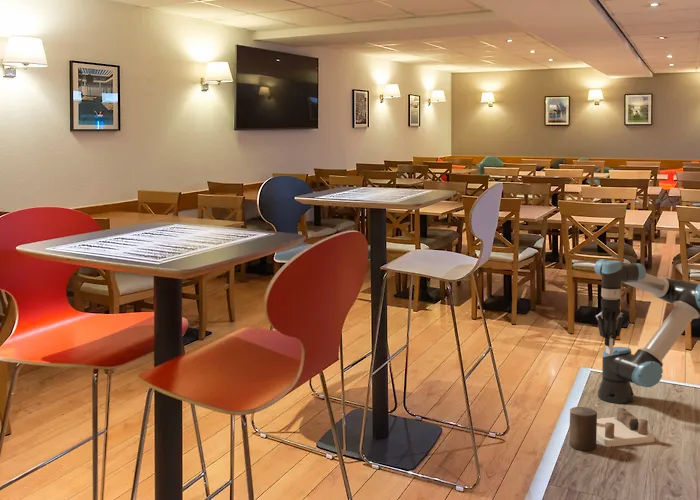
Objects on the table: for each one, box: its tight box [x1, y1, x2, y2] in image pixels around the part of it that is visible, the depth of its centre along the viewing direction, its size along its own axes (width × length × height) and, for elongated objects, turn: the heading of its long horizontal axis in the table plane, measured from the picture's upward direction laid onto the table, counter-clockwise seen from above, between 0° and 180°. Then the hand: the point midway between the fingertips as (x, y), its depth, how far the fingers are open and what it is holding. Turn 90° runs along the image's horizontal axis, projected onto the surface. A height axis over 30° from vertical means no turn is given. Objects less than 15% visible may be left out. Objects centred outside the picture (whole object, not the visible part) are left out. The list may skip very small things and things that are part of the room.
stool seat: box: [596, 416, 656, 448], centre depth 257 cm, size 20×20×8 cm
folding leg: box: [616, 407, 639, 429], centre depth 260 cm, size 13×4×4 cm, turn 3°
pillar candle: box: [568, 406, 598, 452], centre depth 247 cm, size 10×10×15 cm
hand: (609, 353), depth 275 cm, fingers closed
